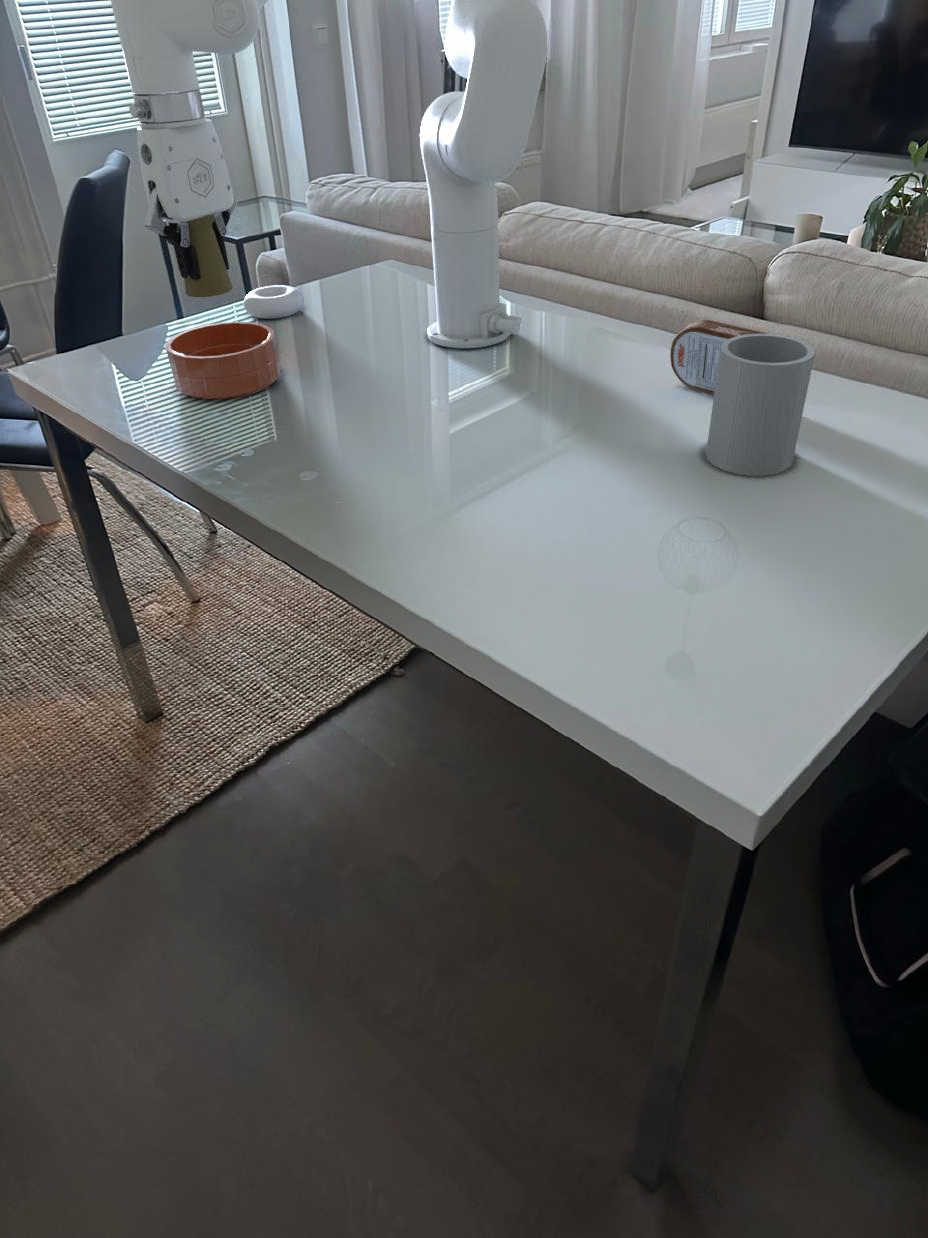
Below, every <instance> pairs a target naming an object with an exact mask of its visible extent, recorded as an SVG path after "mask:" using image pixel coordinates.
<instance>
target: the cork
mask: <svg viewBox="0 0 928 1238" xmlns="http://www.w3.org/2000/svg"><path fill="white" fill-rule="evenodd" d="M213 221H214V214H212V215H206V216H204V217H201V218H198V219H194V220H190V221H188V224H189V237H190V246H194V247H195V250H196V254H197V259H198V263H199V271H200V275H201V278H200V279H199V280H192V279H191V278H190V277H189V275H188V277H187V278H183V279H184V280H183V281H184V291H185V295H186V296H188V297H192V298H209V297H217V296H221V295H224V294H227V293H229V292H231V291H232V290H233V285H232V281H231V278H230V276H229V272H228V270H227V269H226V266H225V263H224V260H223V257H222V254H221V251H220V248H219V245H218V242H217V239H216V236H215V233H214V230H213V227H212V224H213ZM175 225H176V226H177V228H178V224H175Z"/></svg>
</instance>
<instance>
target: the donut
mask: <svg viewBox="0 0 928 1238" xmlns="http://www.w3.org/2000/svg"><path fill="white" fill-rule="evenodd" d="M304 299H305V298H304V295H303V293H302V292H301V291H300V290H299V289H298V288H296V287H293V286H291V285H290V286H289V285H278V284H277V285H268V286H262V287H258V288H256V289H253V290H251V291H249V292H248V294H246V296H245V297H244V300H243V309H244V310H245V312H246V313H247V314H248V315H249V316H251V317H253V318H256V319H263V320H275V319H282V318H287V317H290V316H293V315H295V314H296V313H298V312H300V311H301V309H302V308H303V307H304V303H305V300H304Z"/></svg>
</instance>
